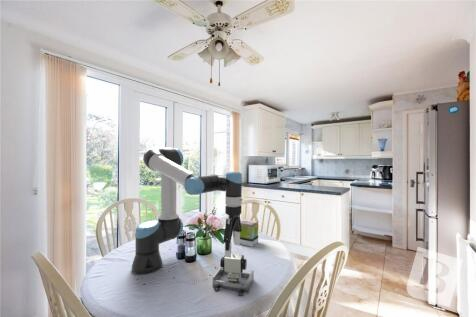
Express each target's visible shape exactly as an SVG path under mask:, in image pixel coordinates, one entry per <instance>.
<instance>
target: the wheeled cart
mask: <svg viewBox="0 0 476 317" xmlns="http://www.w3.org/2000/svg"><path fill="white" fill-rule="evenodd" d="M228 273H230V272H225V271H223V267H221V266H219V268H218V269H217V271H216V272H215V273H214V274H213V276H212V288H213V290H214V292H220V290H221V289H223V290H227V291H233V292H237V295H238V296H239V297H243V296H244V295H245V294H249V293H250V290H251V287H252V285H253V282H254V279H255V278H254V277H255V276H254V270H251V271H250V272H242V273H238V274H239V275H240V277H239V280H237V282H233V281H229V279H228Z"/></svg>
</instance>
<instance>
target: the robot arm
mask: <svg viewBox="0 0 476 317" xmlns="http://www.w3.org/2000/svg"><path fill="white" fill-rule="evenodd" d="M142 158H143V163H144V165H145V167H147V168H148V169H150V170H151V171H155V172H158V173H160V175H161V176H160V177H161V178H160V184H161V185H160V214H159V216H158V219H157V220H149V221H148V220H147V221H144V222H141V223H140V224H138V225H137V226H136V228H135V234H134V238H135V254H134V258H133V262H132V264H131V271H132V273H134V274H136V275H147V274H152V273H155V272H157V271H158V270H160V269H161V268H162V267H163V258H162V256H161V253H160V244H162V243H166V242H168V241H170V240H174V239H176V238H178V237H179V236H180V235H181V234H182V232H183V231H184V223H183V221H182V219H181V218H180V215H179V214H178V213H177V184H179V185H181V186H182V187H184V190H185V192H186V194H188V195H190V196H197V195H201V194H206V193H211V192H217V191H218V192H225V209H224V210H225V215H228V218H226V219H225V227H224V233H223V241H222V243H224V256H225V257H229V258H231V254H232V238H233V229H235V232H234V243H233V245H234V246H240V245H241V244H240V232H242V229H241V221H240V219H241V214H242V210H243V209H242V201H243V198H242V191H243V174H242V173H241V171H240V172H239V171H227V172H226V173H225V175H221V174H220V175H219V174H208V175H205V176H204V175H203V176H201V175H199V174H196V173H195V172H193V171H192V170H191V171H190V170H189V169H188V168H185V167H183V166H182V165H183V163H184V155H183V153H182V152H181V151H180V149H178V148H175V147H164V146H163V147H161V146H160V147H159V146H154V147H151V148H150V147H149V148H148V149H147V150H146V151H145V152H144V154H143V157H142ZM239 231H240V232H239Z"/></svg>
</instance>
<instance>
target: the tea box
mask: <svg viewBox="0 0 476 317" xmlns="http://www.w3.org/2000/svg"><path fill="white" fill-rule="evenodd" d="M240 221H241V229H242V232H240V231H239V232H240V245H244V246H247V247H251V248H252V247H254V246H255V245H257V244H258V243H259V221H257V220H249V219H244V218H243V219H242V218H240ZM234 232H235V229H233V233H232V238H233V240H232V242H233V244H234Z"/></svg>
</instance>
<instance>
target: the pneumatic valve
mask: <svg viewBox="0 0 476 317" xmlns="http://www.w3.org/2000/svg"><path fill="white" fill-rule="evenodd" d="M247 263H248V261H247V259H246V258H245V256H244V255H243V254H237V253H236V254H235V253H231V258H229V257H225V255H224V256H222V257H221V258H220V265H219V267H223V271H225V272H230V273H228V279H229V281H233V282H237V280H239V277H240V275H239V274H238V273H242V272H243V271H245V270H247V265H248V264H247Z"/></svg>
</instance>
